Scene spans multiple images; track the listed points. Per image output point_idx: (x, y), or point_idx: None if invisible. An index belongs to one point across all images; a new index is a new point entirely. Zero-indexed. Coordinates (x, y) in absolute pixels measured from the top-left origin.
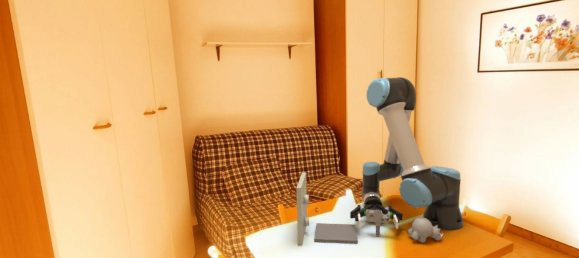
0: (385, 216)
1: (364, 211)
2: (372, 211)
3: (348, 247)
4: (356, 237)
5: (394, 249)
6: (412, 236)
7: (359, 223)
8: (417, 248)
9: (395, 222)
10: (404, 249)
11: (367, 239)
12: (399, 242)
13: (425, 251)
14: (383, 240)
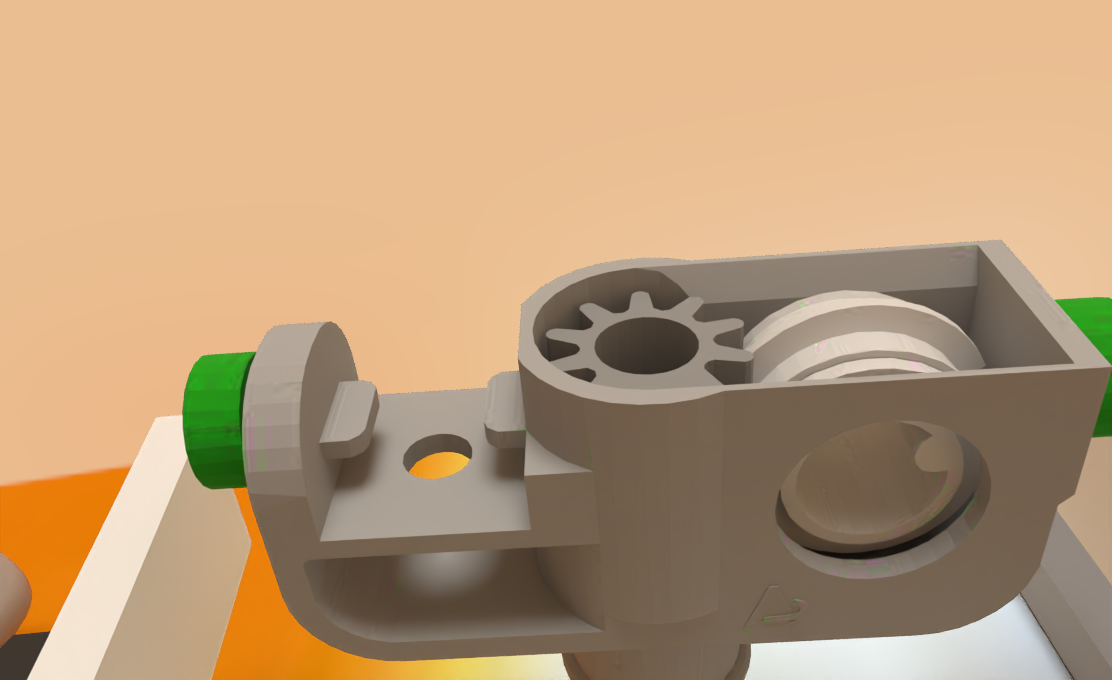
0: (427, 431)
1: (1105, 300)
2: (833, 307)
3: None
4: None
5: (417, 470)
6: (13, 568)
7: None
8: (76, 543)
9: (199, 527)
10: None
11: (846, 652)
12: (273, 655)
13: (15, 499)
14: (547, 670)
